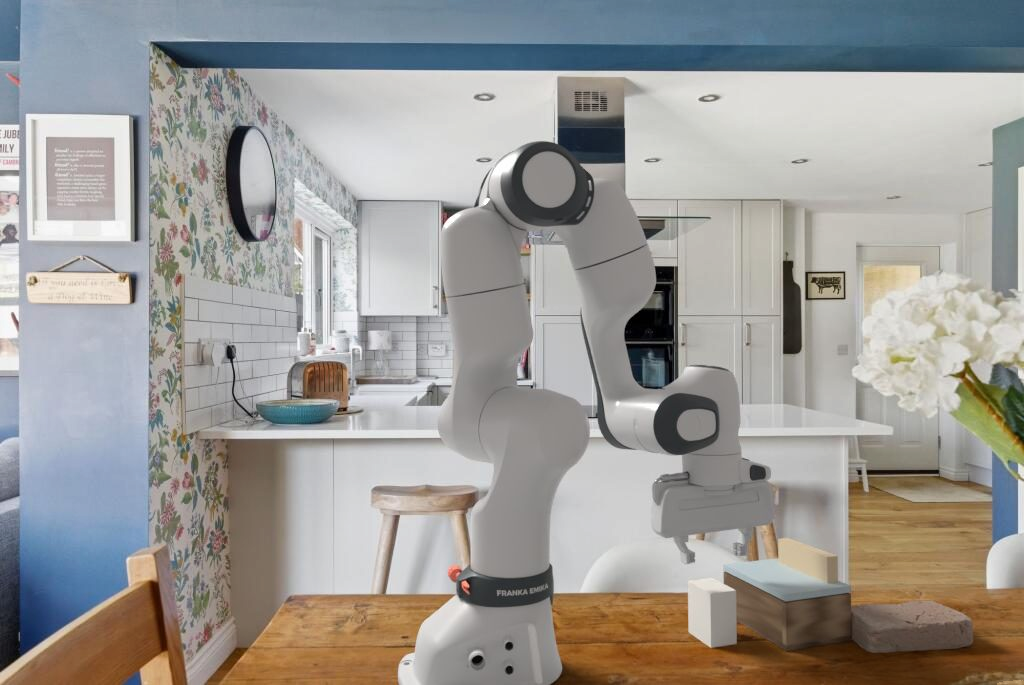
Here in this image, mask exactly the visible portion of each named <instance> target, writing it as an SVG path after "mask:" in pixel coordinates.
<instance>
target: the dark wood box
mask: <svg viewBox="0 0 1024 685" xmlns="http://www.w3.org/2000/svg"><path fill="white" fill-rule="evenodd" d="M723 584H725V585H727V586H729V587H731V588H733V589H734V590H736V623H739V624H741V625H742V626H744V627H745V628H747V629H749V630H750V631H751V632H753V633H756V634H757V635H759V636H761V637H762V638H763V639H765V640H767V641H769V642H770V643H772V644H774V645H776V646H777V647H779V648H780V649H782V650H784V651H785V652H789V651H796V650H802V649H807V648H813V647H819V646H826V645H832V644H837V643H843V642H849V641H853V640H852V627H851V606H852V594H851V592H850V593H843V594H836V595H829V596H822V597H815V598H808V599H801V600H793V601H784V600H782V599H780V598H778V597H776V596H774V595H772V594H770V593H768V592H766V591H764V590H762V589H760V588H758V587H755V586H753V585H751V584H749V583H747V582H745V581H743V580H741V579H739V578H737V577H735V576H733V575H731V574H729V573H727V572H725V571H723Z"/></svg>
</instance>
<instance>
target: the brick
mask: <svg viewBox="0 0 1024 685" xmlns="http://www.w3.org/2000/svg"><path fill="white" fill-rule="evenodd" d="M973 626H974V621H973V619H972V618H970V617H969V616H968V615H966V614H965V613H963V612H961V611H958V610H956V609H954V608H951V607H949V606H946V605H943V604H941V603H938V602H936V601H934V600H914V601H906V602H902V603H898V604H895V603H892V604H890V603H887V604H886V603H884V604H874V603H873V604H872V603H870V604H866V603H865V604H860V605H857V604H855V605H851V627H852V640H851V641H854V642H855V644H857V645H858V646H860V648H861V649H863V650H865V651H867V652H869V653H872V654H873V653H875V654H876V653H877V654H879V653H883V654H884V653H885V654H887V653H895V652H911V651H912V652H913V651H914V652H915V651H932V650H933V651H934V650H936V651H937V650H938V651H939V650H951V649H961V648H964V647H969V646H971V645H972V644H973V642H974V632H975V630H974V627H973Z"/></svg>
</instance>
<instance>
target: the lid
mask: <svg viewBox="0 0 1024 685" xmlns="http://www.w3.org/2000/svg"><path fill="white" fill-rule="evenodd" d="M777 546H778V547H777V549H778V550H777V552H778V558H770V559H769V558H767V559H759V560H752V561H751V560H750V561H743V562H733V563H725V564H723V572H727V573H729V574H731V575H733V576H735V577H737V578H739V579H741V580H743V581H745V582H747V583H749V584H751V585H753V586H755V587H758V588H760V589H762V590H764V591H766V592H768V593H770V594H772V595H774V596H776V597H778V598H780V599H782V600H784V601H793V600H801V599H808V598H815V597H822V596H829V595H836V594H843V593H850V594H851V592H852V588H851V587H852V586H851V585H850V584H848V583H846V582H843V581H841V580H839V569H838V568H839V566H838V565H839V563H838V560H839V558H838V555H836V554H834V553H831V552H828V551H825V550H822V549H820V548H817V547H814V546H811V545H808V544H806V543H803V542H801V541H799V540H798V541H797V540H795V539H792V538H789V537H782V538H781V537H780V538H778V540H777Z"/></svg>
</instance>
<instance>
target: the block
mask: <svg viewBox="0 0 1024 685" xmlns="http://www.w3.org/2000/svg"><path fill="white" fill-rule="evenodd" d="M687 616H688V620H687V621H688V623H687V624H688V625H687V626H688V628H687V629H688V634H690V635H692V636H693V637H695V638H696V639H698V640H699V641H700V642H702V643H703V644H705V645H707V647H709V648H710V649H712V648H719V647H726V646H731V645H737V643H738V642H737V641H738V636H737V634H738V633H737V621H736V590H734V589H733V588H731V587H729V586H727V585H725V584H724V582H721V581H720V580H717V579H715V578H713V577H709V578H708V577H707V578H700V579H693V580H687Z"/></svg>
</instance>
